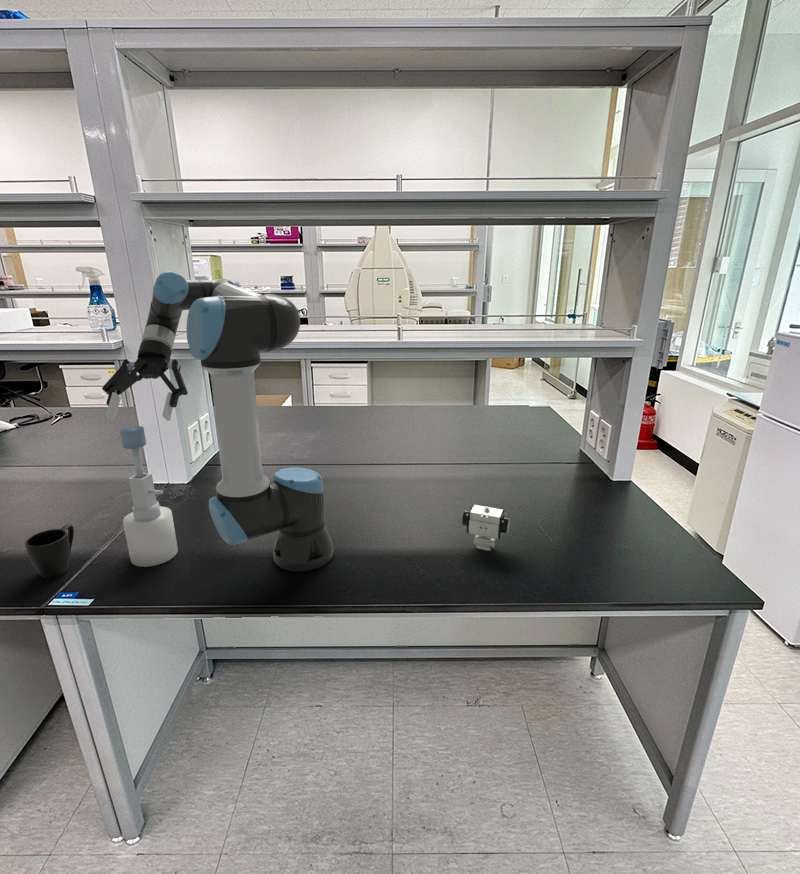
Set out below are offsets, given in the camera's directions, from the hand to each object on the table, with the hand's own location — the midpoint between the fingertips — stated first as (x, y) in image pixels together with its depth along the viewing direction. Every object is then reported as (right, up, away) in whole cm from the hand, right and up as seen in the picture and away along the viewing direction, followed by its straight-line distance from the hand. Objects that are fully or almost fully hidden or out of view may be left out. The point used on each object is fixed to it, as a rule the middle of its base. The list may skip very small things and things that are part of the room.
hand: (138, 418), depth 119 cm
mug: (-20, -37, +1) cm, 42 cm away
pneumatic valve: (+86, -34, +11) cm, 93 cm away
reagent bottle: (+1, -35, +7) cm, 35 cm away
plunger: (+1, -15, 0) cm, 15 cm away
